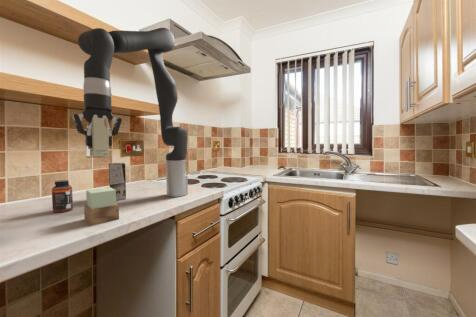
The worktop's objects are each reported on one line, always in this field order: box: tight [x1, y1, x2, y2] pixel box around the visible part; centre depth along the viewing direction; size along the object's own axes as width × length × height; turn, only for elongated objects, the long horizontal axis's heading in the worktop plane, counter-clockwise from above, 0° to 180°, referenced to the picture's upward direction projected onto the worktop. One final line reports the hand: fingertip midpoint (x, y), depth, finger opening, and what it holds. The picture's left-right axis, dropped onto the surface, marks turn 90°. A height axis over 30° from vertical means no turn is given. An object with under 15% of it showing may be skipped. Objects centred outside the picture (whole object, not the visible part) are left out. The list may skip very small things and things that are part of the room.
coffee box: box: [108, 162, 127, 201], centre depth 101 cm, size 9×6×16 cm
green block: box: [85, 186, 117, 209], centre depth 73 cm, size 7×7×5 cm
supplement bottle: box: [51, 179, 74, 213], centre depth 82 cm, size 6×6×11 cm
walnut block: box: [83, 203, 120, 226], centre depth 73 cm, size 8×8×5 cm
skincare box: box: [89, 118, 110, 157], centre depth 72 cm, size 6×4×12 cm
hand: (99, 147), depth 72 cm, fingers closed on skincare box, 4 cm apart
